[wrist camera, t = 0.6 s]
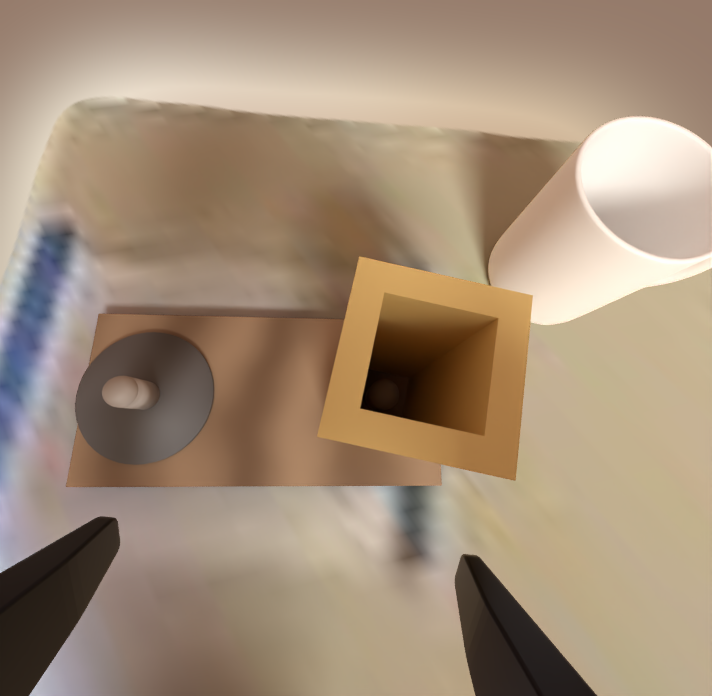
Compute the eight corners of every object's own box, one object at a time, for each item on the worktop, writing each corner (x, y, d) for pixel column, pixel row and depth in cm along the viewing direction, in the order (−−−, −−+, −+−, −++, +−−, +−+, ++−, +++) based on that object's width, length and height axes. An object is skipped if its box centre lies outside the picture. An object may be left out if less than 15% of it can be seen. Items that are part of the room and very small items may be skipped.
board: (430, 324, 25) (449, 303, 21) (437, 483, 22) (461, 496, 18) (103, 317, 24) (51, 292, 19) (72, 484, 21) (4, 499, 17)
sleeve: (411, 449, 22) (515, 480, 9) (328, 431, 22) (317, 436, 9) (425, 367, 23) (532, 295, 11) (346, 349, 23) (359, 256, 11)
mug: (634, 251, 27) (807, 150, 17) (633, 348, 25) (828, 297, 15) (490, 220, 27) (580, 99, 17) (478, 315, 25) (571, 241, 15)
